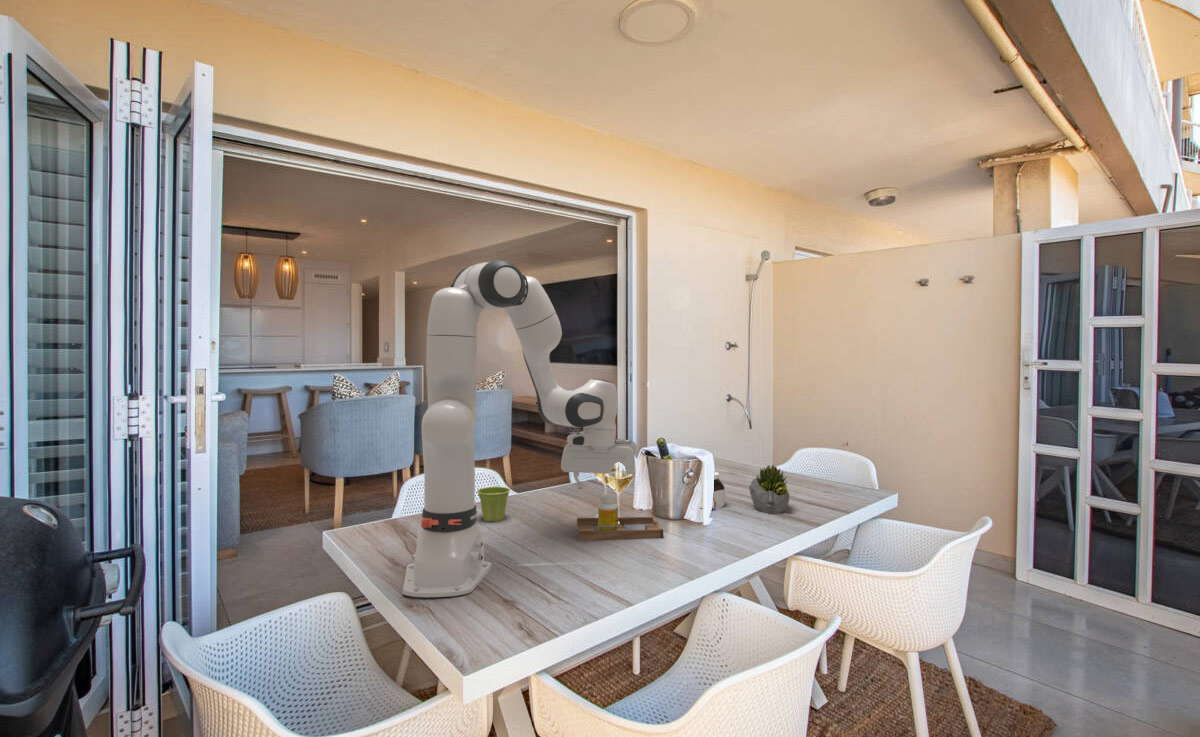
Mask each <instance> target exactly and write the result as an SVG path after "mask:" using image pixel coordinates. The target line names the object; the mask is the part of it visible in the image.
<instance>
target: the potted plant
mask: <svg viewBox="0 0 1200 737" xmlns="http://www.w3.org/2000/svg"><path fill="white" fill-rule="evenodd" d="M787 478H788V476H786V477H785V476H784V471H783V470H782V471H781V468H778V467H777V466H776V465H775V466H774V464H772V465H767V466H766V467H763V468H762V467H760V469H759V475H758V474H756V476H755V478H753V479H752V481H751V483H750V485H749V487H748V489H749V495H750V497H751V501H752V503H753V505H754V508H755V509H756V510H757V511H759V512H761V513H764V514H771V515H772V514H773V515H774V514H775V515H776V514H779V515H780V514H782V513H784V512H785V510H786V509H787V507H788V505H789V502H790V492H789V491H788V488H787V485H786V484H787V483H788V481H787V480H786V479H787Z"/></svg>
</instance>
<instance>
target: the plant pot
mask: <svg viewBox="0 0 1200 737" xmlns="http://www.w3.org/2000/svg"><path fill="white" fill-rule="evenodd" d="M476 492H477V494H478V496H479V499H480V507H481V514H482V520H483V521H484V520H485V521H484V522H487V521H490V522H492V521H496V522H500V520H501V521H503V520H504V519H505V517H506V508H507V501H508V497H509V493H510V492H511V489H510V488H508V487H506V486H505V487H504V486H490V487H489V486H488V487H483V488H479V489H478V490H477V491H476Z"/></svg>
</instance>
